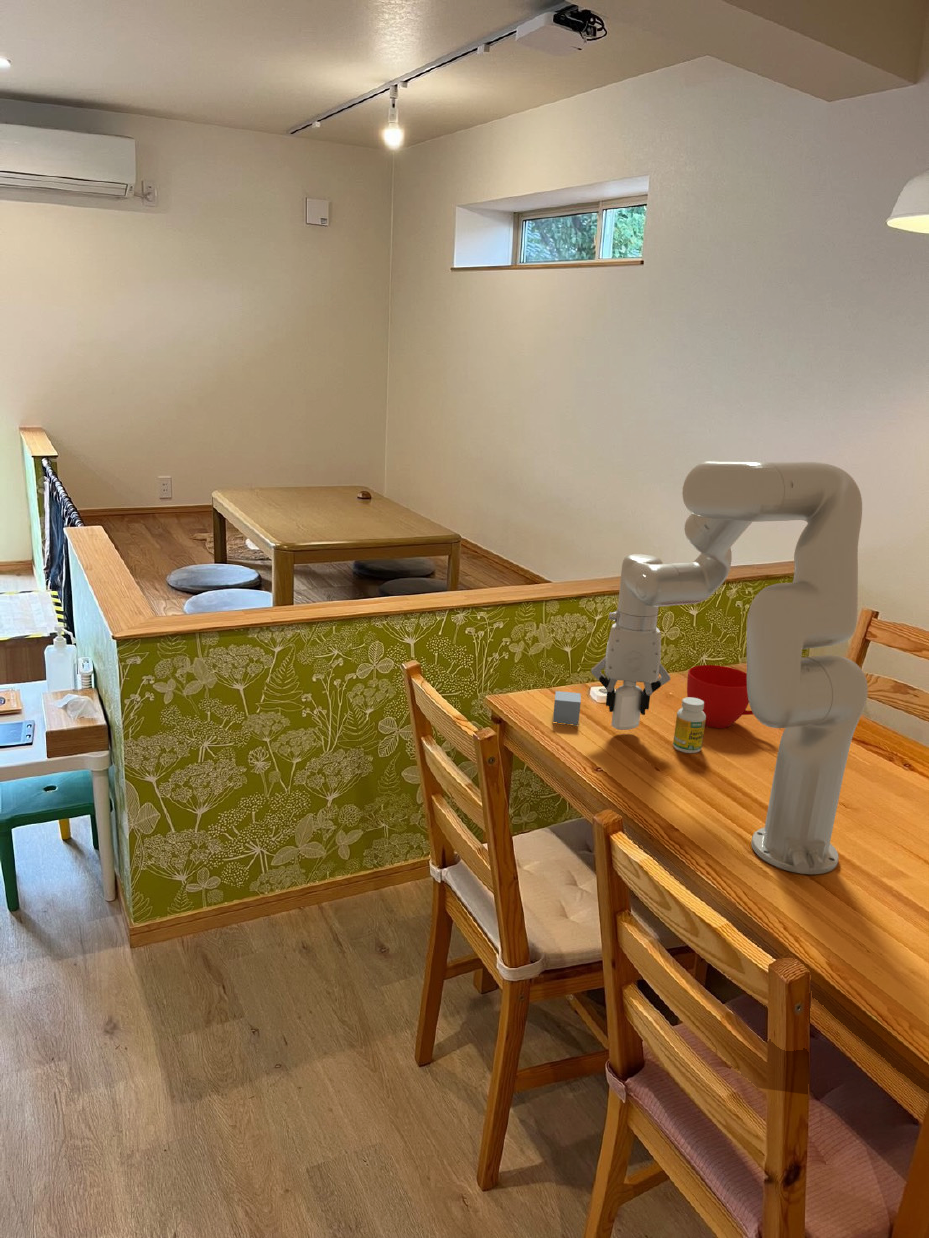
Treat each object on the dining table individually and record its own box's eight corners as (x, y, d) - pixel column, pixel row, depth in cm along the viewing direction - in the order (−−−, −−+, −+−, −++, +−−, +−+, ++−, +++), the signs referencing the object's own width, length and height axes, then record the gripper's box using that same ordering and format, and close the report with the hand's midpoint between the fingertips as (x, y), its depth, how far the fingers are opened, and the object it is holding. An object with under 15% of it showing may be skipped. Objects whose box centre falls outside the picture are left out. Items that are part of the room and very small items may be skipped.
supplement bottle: (686, 740, 184) (693, 693, 181) (707, 750, 180) (714, 703, 177) (666, 745, 181) (672, 698, 178) (687, 756, 177) (694, 708, 174)
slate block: (578, 726, 187) (580, 702, 186) (552, 723, 188) (555, 699, 186) (578, 716, 192) (580, 693, 191) (553, 713, 192) (555, 690, 191)
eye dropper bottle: (641, 731, 182) (648, 672, 179) (612, 730, 182) (618, 671, 179) (637, 722, 186) (643, 664, 183) (608, 721, 186) (614, 663, 183)
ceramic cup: (756, 745, 183) (764, 697, 180) (672, 723, 192) (679, 676, 189) (773, 725, 194) (781, 679, 191) (693, 704, 202) (700, 660, 199)
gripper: (591, 622, 175) (582, 713, 180) (685, 630, 174) (673, 722, 179) (590, 611, 183) (581, 700, 187) (680, 619, 181) (669, 708, 186)
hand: (626, 710), depth 183 cm, fingers closed on eye dropper bottle, 5 cm apart
